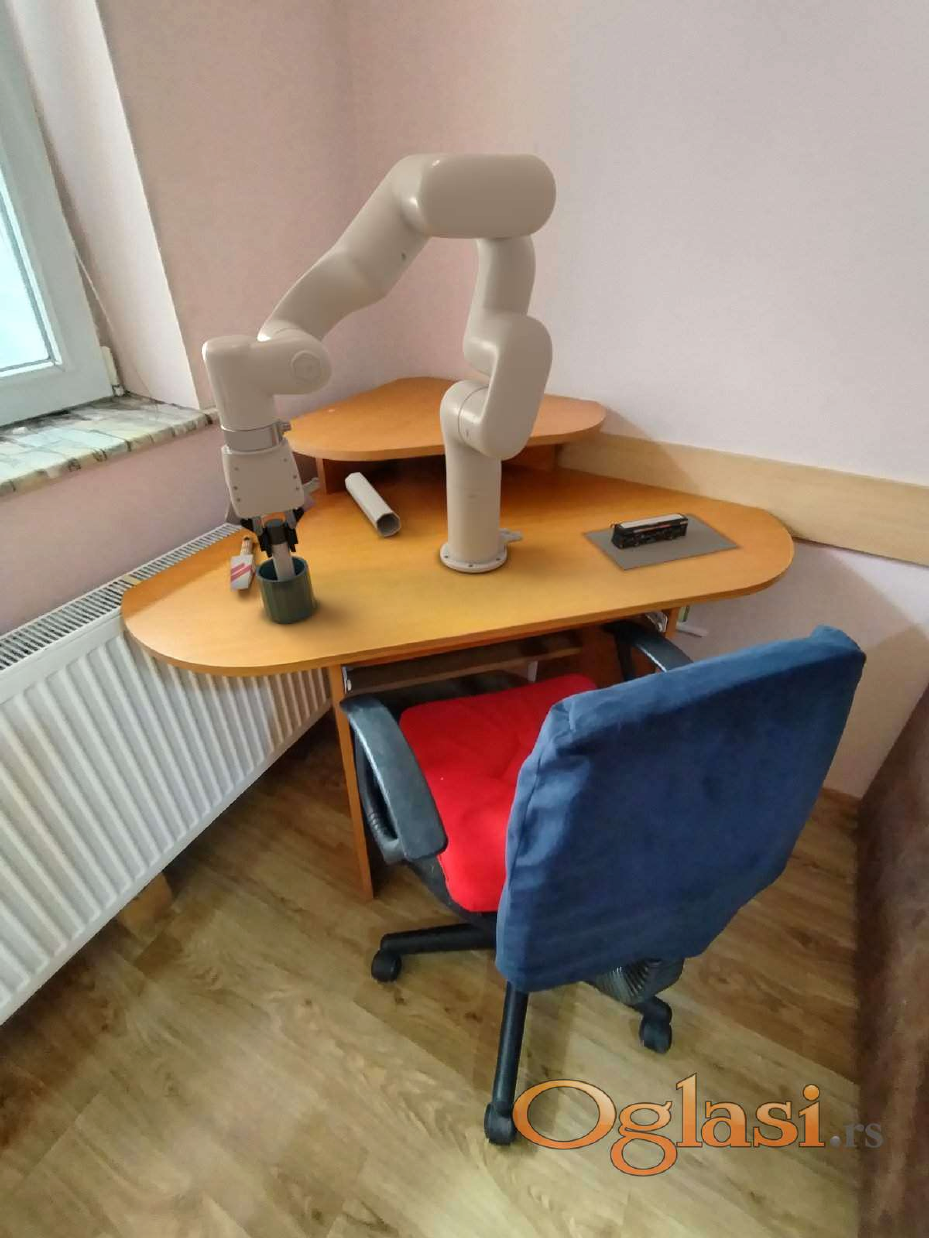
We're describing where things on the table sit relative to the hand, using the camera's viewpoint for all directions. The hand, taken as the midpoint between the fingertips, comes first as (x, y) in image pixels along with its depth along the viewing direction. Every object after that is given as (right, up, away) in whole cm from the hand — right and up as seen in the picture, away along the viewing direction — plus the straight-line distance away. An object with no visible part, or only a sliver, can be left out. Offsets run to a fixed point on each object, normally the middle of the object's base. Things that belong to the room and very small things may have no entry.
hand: (280, 550), depth 93 cm
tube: (+8, +13, +36) cm, 39 cm away
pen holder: (0, -9, +6) cm, 11 cm away
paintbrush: (-12, -1, +17) cm, 21 cm away
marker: (0, -7, +6) cm, 9 cm away
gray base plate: (+67, +5, +25) cm, 72 cm away
